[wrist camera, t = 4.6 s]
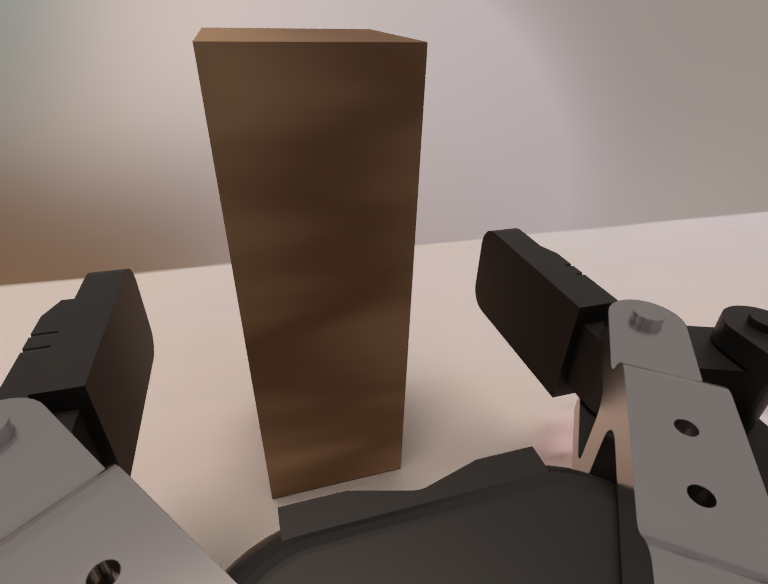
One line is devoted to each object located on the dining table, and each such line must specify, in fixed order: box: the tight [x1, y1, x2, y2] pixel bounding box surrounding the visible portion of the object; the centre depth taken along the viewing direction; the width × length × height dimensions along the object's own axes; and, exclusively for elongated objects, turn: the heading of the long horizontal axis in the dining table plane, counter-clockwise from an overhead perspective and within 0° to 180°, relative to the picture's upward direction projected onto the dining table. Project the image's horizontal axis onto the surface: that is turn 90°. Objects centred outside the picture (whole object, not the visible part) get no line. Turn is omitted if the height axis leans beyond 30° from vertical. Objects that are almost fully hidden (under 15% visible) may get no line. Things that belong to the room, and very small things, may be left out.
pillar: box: [193, 28, 427, 499], centre depth 13 cm, size 4×4×12 cm
